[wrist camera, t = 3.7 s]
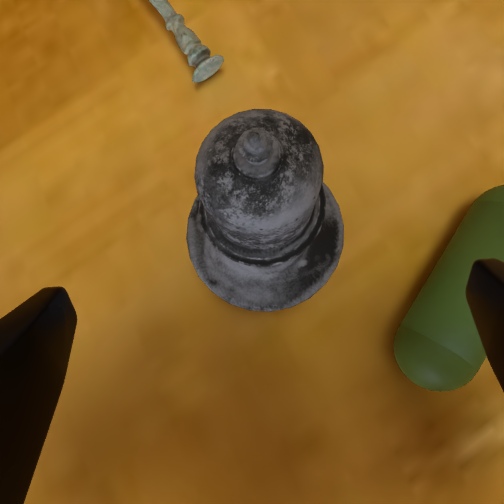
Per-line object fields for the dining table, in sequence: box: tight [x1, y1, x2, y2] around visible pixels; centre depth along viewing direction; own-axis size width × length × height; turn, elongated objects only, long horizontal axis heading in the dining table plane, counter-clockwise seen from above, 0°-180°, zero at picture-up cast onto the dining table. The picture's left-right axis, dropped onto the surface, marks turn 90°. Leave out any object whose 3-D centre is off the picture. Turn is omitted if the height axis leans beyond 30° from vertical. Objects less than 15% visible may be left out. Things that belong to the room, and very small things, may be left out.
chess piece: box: [186, 109, 344, 312], centre depth 14 cm, size 6×6×12 cm
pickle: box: [394, 185, 504, 392], centre depth 17 cm, size 9×3×3 cm, turn 147°
